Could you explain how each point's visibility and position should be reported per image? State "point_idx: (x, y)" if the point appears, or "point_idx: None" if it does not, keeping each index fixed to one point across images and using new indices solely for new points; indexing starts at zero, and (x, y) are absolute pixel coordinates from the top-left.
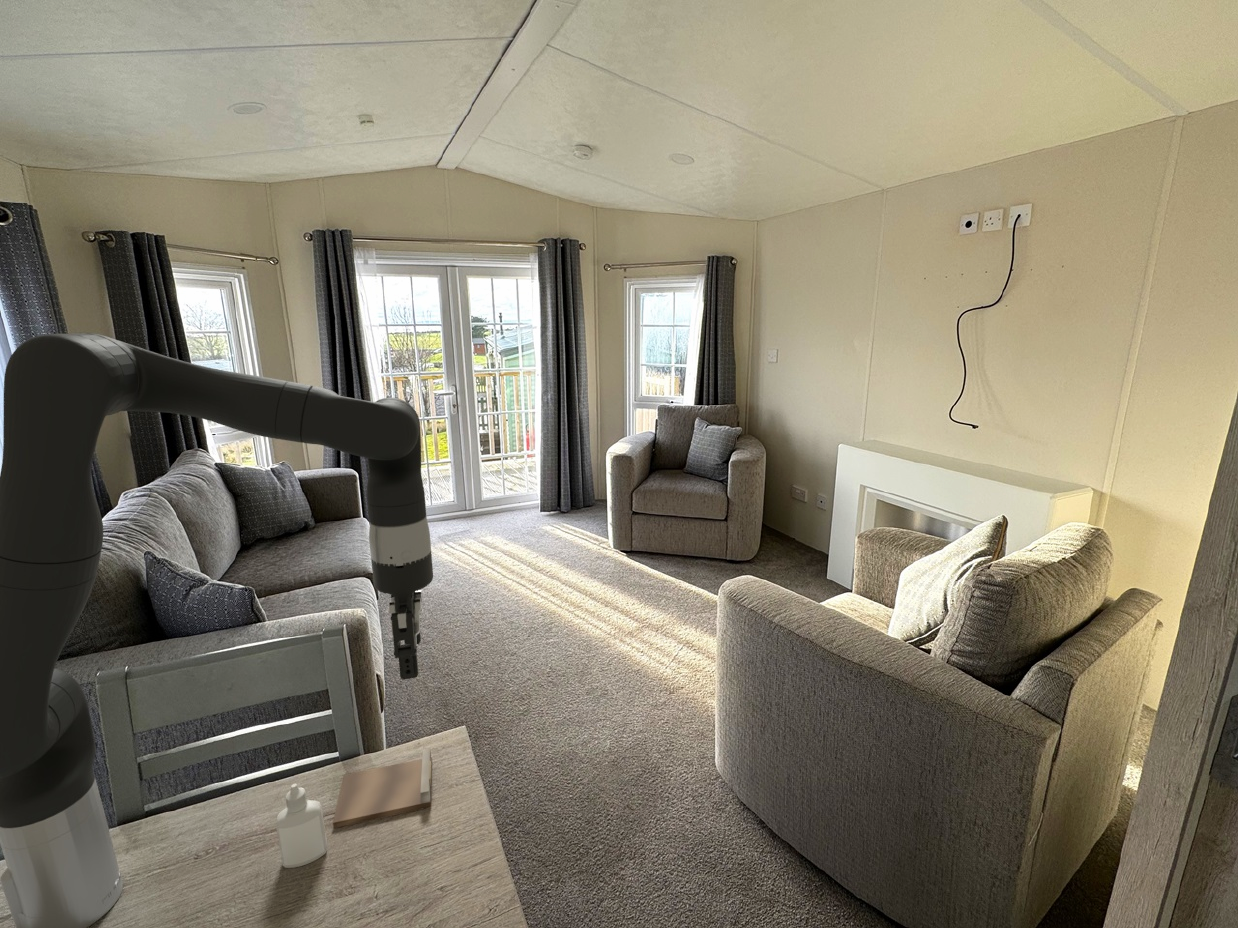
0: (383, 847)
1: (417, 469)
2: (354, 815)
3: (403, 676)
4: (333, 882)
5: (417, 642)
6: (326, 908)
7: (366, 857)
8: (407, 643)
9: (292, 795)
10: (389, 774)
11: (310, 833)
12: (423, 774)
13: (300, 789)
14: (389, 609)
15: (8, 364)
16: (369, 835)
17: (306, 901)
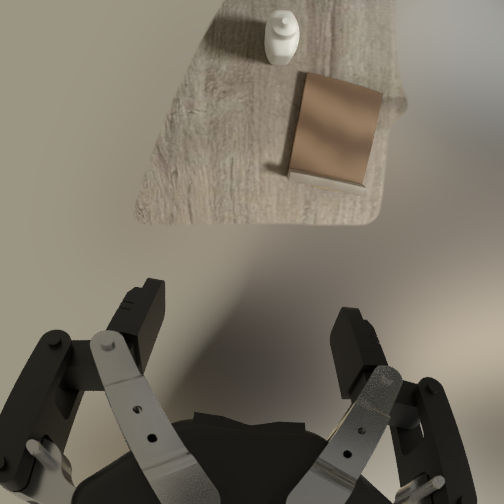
0: (251, 120)
1: None
2: (307, 95)
3: (132, 289)
4: (227, 71)
5: (331, 335)
6: (198, 67)
7: (245, 103)
8: (342, 313)
9: (278, 21)
10: (356, 141)
11: (266, 47)
12: (320, 180)
13: (287, 30)
14: (154, 490)
15: None
16: (276, 107)
17: (216, 49)
